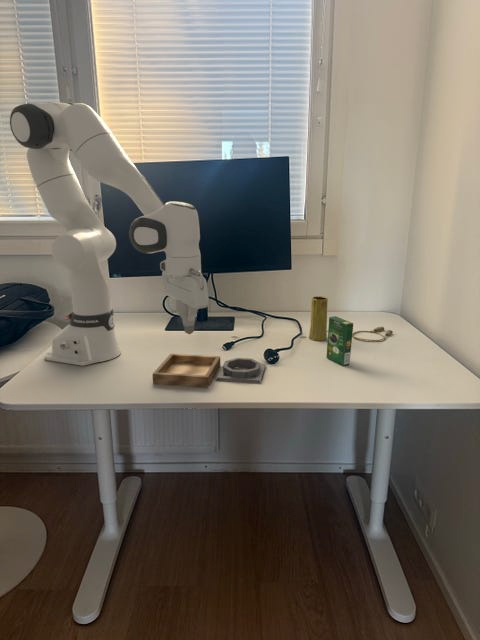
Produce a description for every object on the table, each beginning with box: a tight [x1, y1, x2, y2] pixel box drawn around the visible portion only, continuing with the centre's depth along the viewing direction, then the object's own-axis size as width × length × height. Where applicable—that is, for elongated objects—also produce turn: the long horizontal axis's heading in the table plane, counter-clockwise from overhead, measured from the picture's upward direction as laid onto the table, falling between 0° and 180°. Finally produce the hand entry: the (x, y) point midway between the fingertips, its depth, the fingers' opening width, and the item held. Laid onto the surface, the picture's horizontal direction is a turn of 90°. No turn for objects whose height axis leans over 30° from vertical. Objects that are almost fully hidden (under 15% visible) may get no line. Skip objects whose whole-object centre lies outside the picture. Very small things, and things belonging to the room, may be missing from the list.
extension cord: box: [352, 326, 393, 343], centre depth 154 cm, size 12×16×2 cm
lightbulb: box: [175, 299, 199, 335], centre depth 118 cm, size 6×6×11 cm
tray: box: [152, 353, 221, 389], centre depth 122 cm, size 15×15×3 cm
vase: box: [308, 295, 329, 342], centre depth 150 cm, size 6×6×14 cm
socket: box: [215, 357, 267, 384], centre depth 123 cm, size 12×12×2 cm
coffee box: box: [326, 316, 354, 367], centre depth 129 cm, size 8×3×13 cm, turn 28°
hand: (186, 317), depth 118 cm, fingers closed on lightbulb, 5 cm apart
